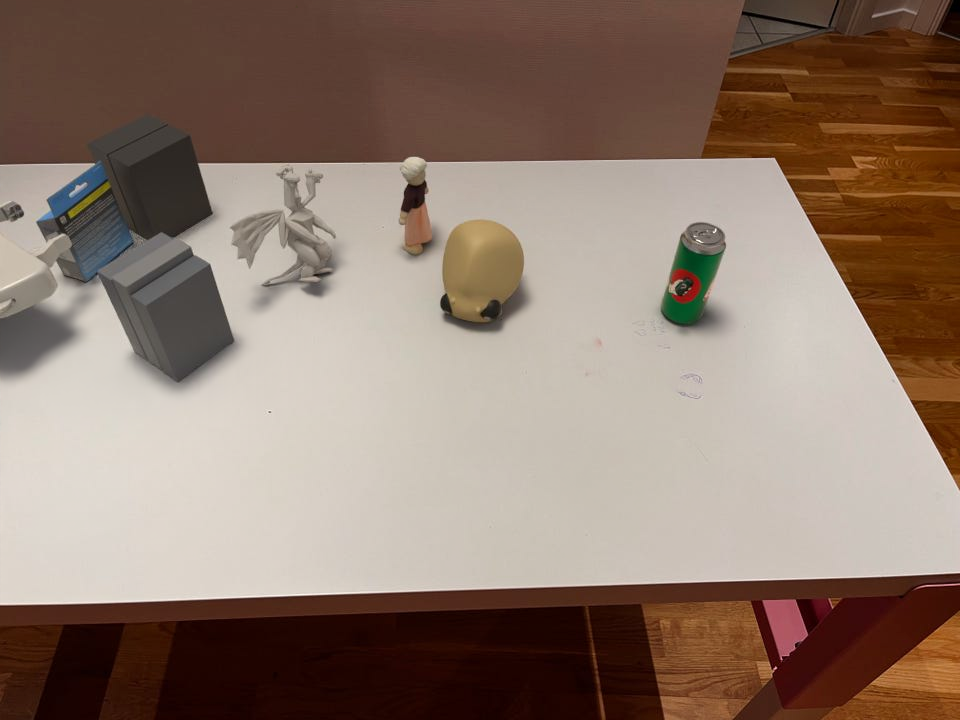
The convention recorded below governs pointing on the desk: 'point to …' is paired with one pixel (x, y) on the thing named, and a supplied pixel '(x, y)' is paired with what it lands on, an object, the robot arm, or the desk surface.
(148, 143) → the dark grey block
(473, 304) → the tan toy animal
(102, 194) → the blue retail box
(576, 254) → the desk surface
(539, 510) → the desk surface
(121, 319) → the grey upright block
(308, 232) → the dragon figurine
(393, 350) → the desk surface
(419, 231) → the grandmother figurine
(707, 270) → the soda can
